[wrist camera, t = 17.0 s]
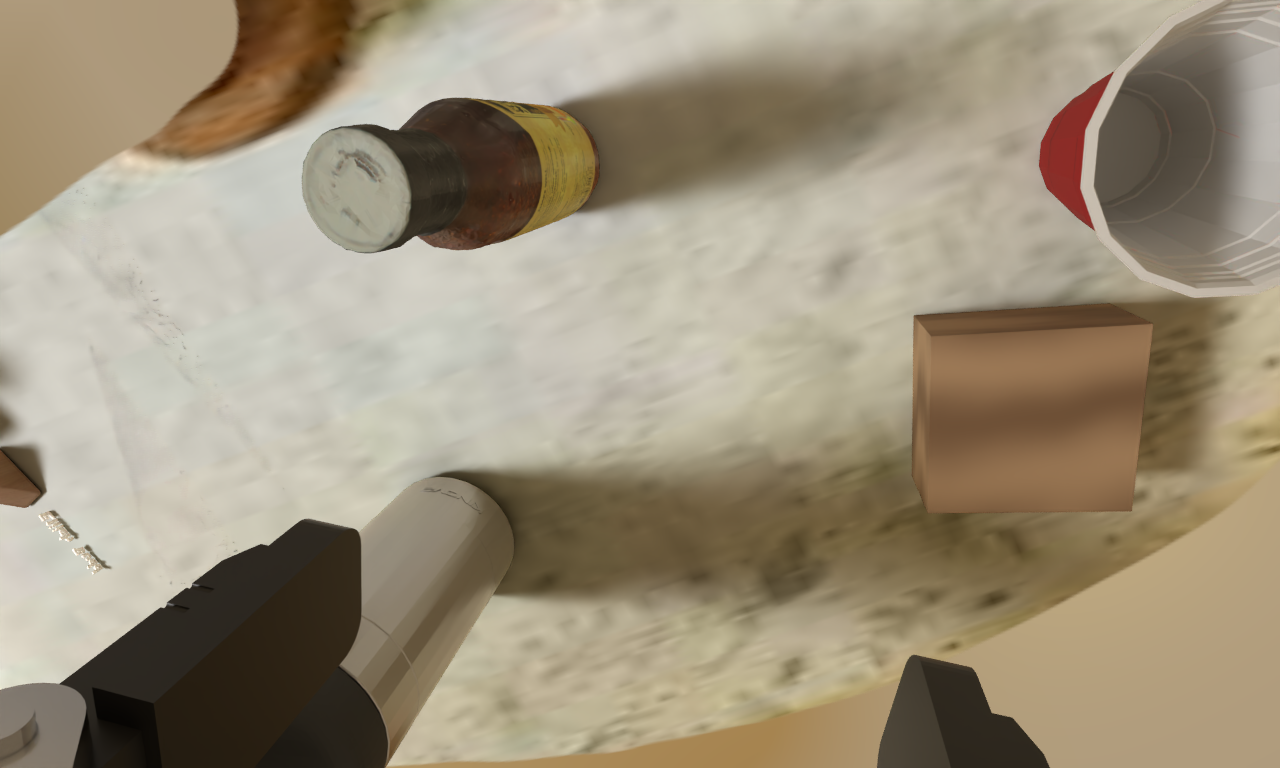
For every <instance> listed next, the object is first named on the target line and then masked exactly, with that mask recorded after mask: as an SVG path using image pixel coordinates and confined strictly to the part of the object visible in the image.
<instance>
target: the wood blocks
mask: <svg viewBox="0 0 1280 768" xmlns="http://www.w3.org/2000/svg"><path fill="white" fill-rule="evenodd" d="M40 494H41V493H40V491H39V490H38V489H37V488H36V487H35V485H34V484H33V483H32V482H31V481H30V480H29V479H28V478H27V477H26V476H25V475H24V474H23V473H22V472H21V471H20V470H19V469H18V468H17V467H16V466H15V465H14V464H13V463H12V462H11V460H10V459H9V458H8V457H7V456H6V455H5V454H4V453H3V452H2V451H1V450H0V504H4V505H10V506H16V507H23V508H26V507H28V506H29V505H30V504H31V503H32V502H33V501H34V500H35V499H36V498H37V497H38V496H39V495H40ZM47 515H49V516H50V517H51V518H52V519H54V518H55V516H54V515H53V514H52V513H51V512H50V511H48V512H46V513H44V514H40V515H39V517H40V519H41V520H42V521H45V520H47V519H49V517H48V516H47ZM44 517H45V518H44ZM57 521H58V519H57V518H56V519H54V520H52V521H50V522H46V525H47V526H48V525H50V524H52V526H49V529H51V528H52V527H55V526H58V525H60V524H61V522H57ZM55 522H57V523H55ZM54 523H55V524H54ZM63 527H64V526H63V525H61V526H59V527H56V528H55V529H53V530H52V532H55V531H57V530H59V529H60V530H59V534H60V535H61V536H62V537H60V538H59V539H60V540H63V539H65V540H66V541H72V540H73V539H74V538H73V537H71V538H68V537H70V536H71V535H70V534H69V533H68V531H67V530H66V529H64V528H63ZM67 533H68V534H67ZM65 534H66V535H65ZM63 535H64V536H63ZM72 550H73V552H74V553H75V554H76V555H79V554H83V555H82V556H81V557H83V558H84V557H86V556H88V557H87V558H86V559H85V560H86V561H88V560H89V564H90V565H88V566H87V569H89V568H91V567H92V566H94V565H95V566H94V569H95V570H94V571H93V572H92V574H95V573H96V572H98V571H100V570H101V569H103V567H102V566H101V565H100V564H97V563H98V562H97V561H96V560H95V559H91V555H90V554H89V553H85V549H84V548H83V547H81V548H78V549H76V548H74V549H72ZM77 551H78V552H77ZM90 559H91V560H90Z"/></svg>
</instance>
